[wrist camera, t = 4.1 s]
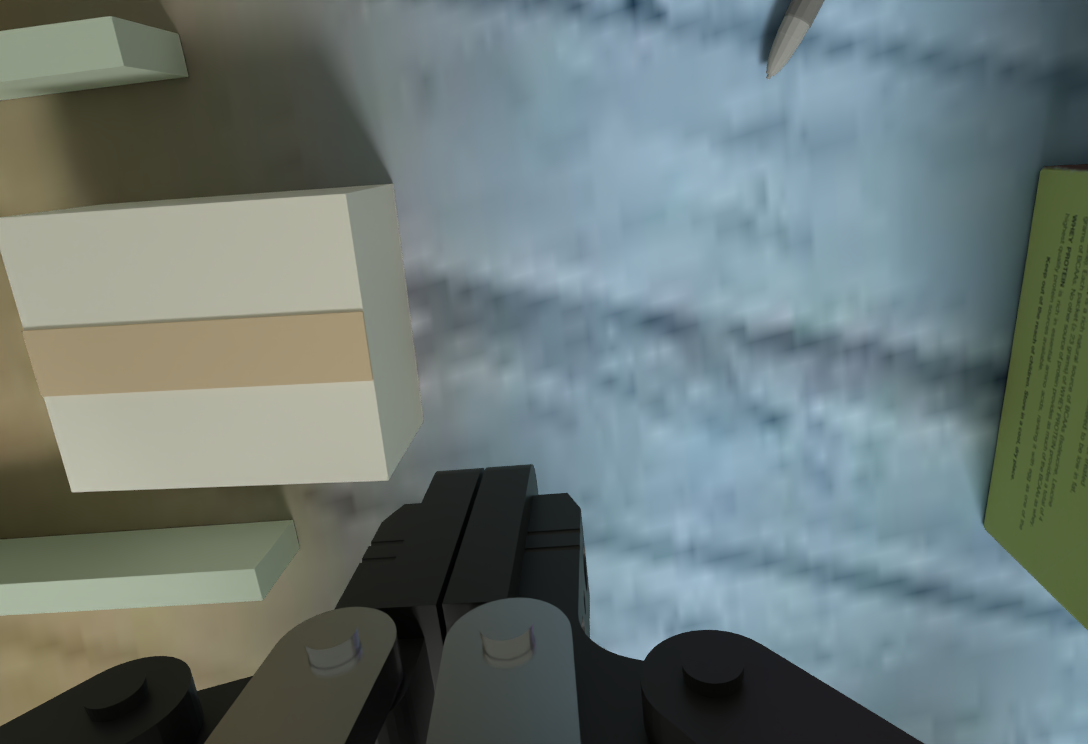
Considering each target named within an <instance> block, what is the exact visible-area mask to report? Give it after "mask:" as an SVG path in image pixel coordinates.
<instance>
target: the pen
mask: <svg viewBox="0 0 1088 744" xmlns="http://www.w3.org/2000/svg"><path fill="white" fill-rule="evenodd" d="M823 2H824V0H792V1H791V3H790V5H789V7H788V9H787V11H786V13H785V17H784V19H783V21H782V23H781V25H780V27H779V29H778V32H777V35H776V37H775V40H774V42H773V45H772V48H771V51H770V54H769V58H768V63H767V71H766V73H767V74H768V75H767V77H766V78H767V79H770V78H771V76H774V75H776V74H777V73H778V72H779V71H780V70H781V69H782V68H783V67H784V66H785V64H786V63H787V62H788V60H789V59H790V58H791V56H792V55H793V53H794V52H795V50H796V49H797V47H798V46H799V44H800V43H801V41H802V39H803V38H804V36H805V34H806V32H807V31H808V29H809V28H810V27H811V25H812V23H813V21H814V19H815V17H816V15H817V13H818V12H819V10H820V8H821V6H822V4H823Z"/></svg>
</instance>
